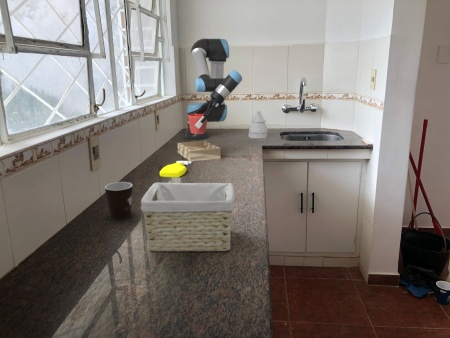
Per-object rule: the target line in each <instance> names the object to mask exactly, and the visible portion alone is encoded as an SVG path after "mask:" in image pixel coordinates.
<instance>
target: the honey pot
mask: <svg viewBox="0 0 450 338" xmlns="http://www.w3.org/2000/svg"><path fill="white" fill-rule="evenodd" d="M261 113H262V112H261V111H260V110H259V111H256V114H255V115H254V116H253V119H251V123H250V126H249V128H248V138H249V137H250V139H253V138H264V139H267V138H268V128H267V124H266V122H267V120H266V119H264V116H263V114H261ZM266 137H267V138H266Z"/></svg>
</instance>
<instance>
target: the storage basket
mask: <svg viewBox="0 0 450 338" xmlns="http://www.w3.org/2000/svg"><path fill="white" fill-rule="evenodd" d="M235 192H236V191H235V187H234V184H233V183H231V182H228V183H227V182H226V183H225V182H223V183H222V182H221V183H220V182H191V183H190V182H189V183H187V182H155V183H152V185H150V187H149V188H148V190H147V191H146V192H145V193H144V195H143V197H142V198H141V200H140V204H141V206H140V209H141V211H142V212H143V216H144V218H143V219H144V223H145V226H144V227H145V228H144V229H145V231H146V238H147V244H148V250H149V251H150V252H159V251H161V252H227V250H229V251H230V250H231V238H232V237H231V229H232V220H233V211H234V208H235V195H236V194H235Z"/></svg>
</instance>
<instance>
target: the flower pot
mask: <svg viewBox="0 0 450 338" xmlns="http://www.w3.org/2000/svg"><path fill="white" fill-rule="evenodd" d="M203 115H204V114H190V115H188V114H187V121H188V120H189V126H190V131H191V133H192V134H204V133H205V131H206V132H207V125H208V122H207V120H206V121H205V122H204V123H203V125H202V126H201V127H200V128H199V129H198V128H197V127H196V126H195V124H196V123H197V122H198V121H199V120H200V119H201V118H202V116H203Z"/></svg>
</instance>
